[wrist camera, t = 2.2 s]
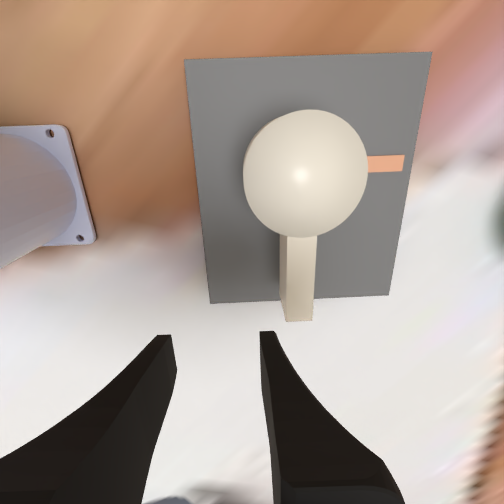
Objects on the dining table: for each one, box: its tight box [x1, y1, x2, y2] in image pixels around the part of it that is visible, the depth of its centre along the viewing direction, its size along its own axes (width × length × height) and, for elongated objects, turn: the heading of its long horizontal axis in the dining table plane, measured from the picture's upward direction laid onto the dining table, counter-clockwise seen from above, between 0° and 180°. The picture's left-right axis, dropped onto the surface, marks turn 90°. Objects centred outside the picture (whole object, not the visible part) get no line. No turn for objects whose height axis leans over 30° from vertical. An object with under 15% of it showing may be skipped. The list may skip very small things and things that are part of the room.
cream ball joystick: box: [243, 109, 368, 322], centre depth 16 cm, size 12×6×4 cm, turn 2°
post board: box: [184, 52, 432, 304], centre depth 19 cm, size 14×16×2 cm
